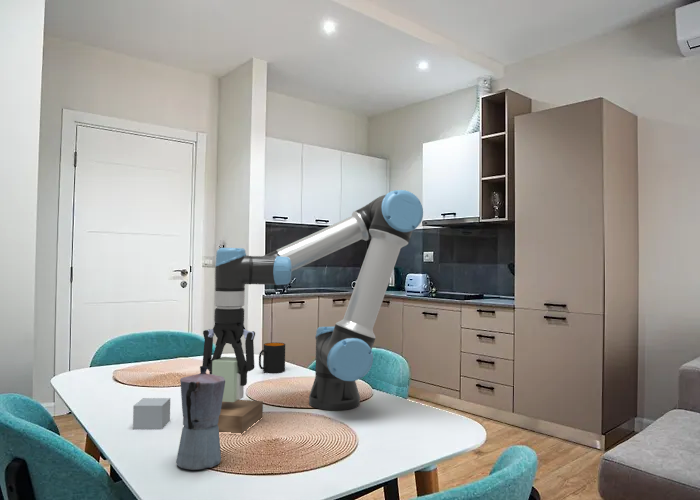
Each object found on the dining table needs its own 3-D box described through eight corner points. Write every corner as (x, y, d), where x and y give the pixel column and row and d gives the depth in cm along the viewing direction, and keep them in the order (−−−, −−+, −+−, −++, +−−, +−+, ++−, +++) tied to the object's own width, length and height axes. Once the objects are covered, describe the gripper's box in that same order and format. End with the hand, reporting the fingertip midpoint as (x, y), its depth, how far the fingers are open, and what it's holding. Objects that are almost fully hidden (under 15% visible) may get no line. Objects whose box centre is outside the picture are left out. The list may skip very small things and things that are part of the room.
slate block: (169, 421, 134) (170, 398, 134) (161, 429, 127) (162, 405, 127) (142, 421, 134) (143, 398, 134) (132, 430, 127) (133, 405, 127)
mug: (251, 373, 192) (251, 345, 193) (274, 368, 202) (274, 341, 202) (266, 376, 187) (267, 347, 188) (289, 371, 197) (289, 344, 197)
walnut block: (262, 420, 137) (262, 401, 137) (241, 437, 123) (242, 416, 123) (213, 416, 140) (214, 397, 140) (188, 432, 126) (188, 412, 126)
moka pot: (230, 450, 114) (231, 360, 114) (214, 480, 98) (216, 375, 99) (186, 450, 113) (188, 359, 114) (163, 480, 98) (166, 375, 98)
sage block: (243, 396, 134) (244, 357, 134) (233, 402, 128) (234, 362, 129) (222, 394, 136) (223, 356, 136) (211, 400, 130) (212, 360, 130)
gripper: (269, 307, 134) (267, 396, 134) (203, 305, 138) (201, 391, 138) (258, 309, 127) (256, 403, 126) (188, 307, 131) (186, 398, 130)
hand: (227, 397), depth 132 cm, fingers closed on sage block, 6 cm apart
